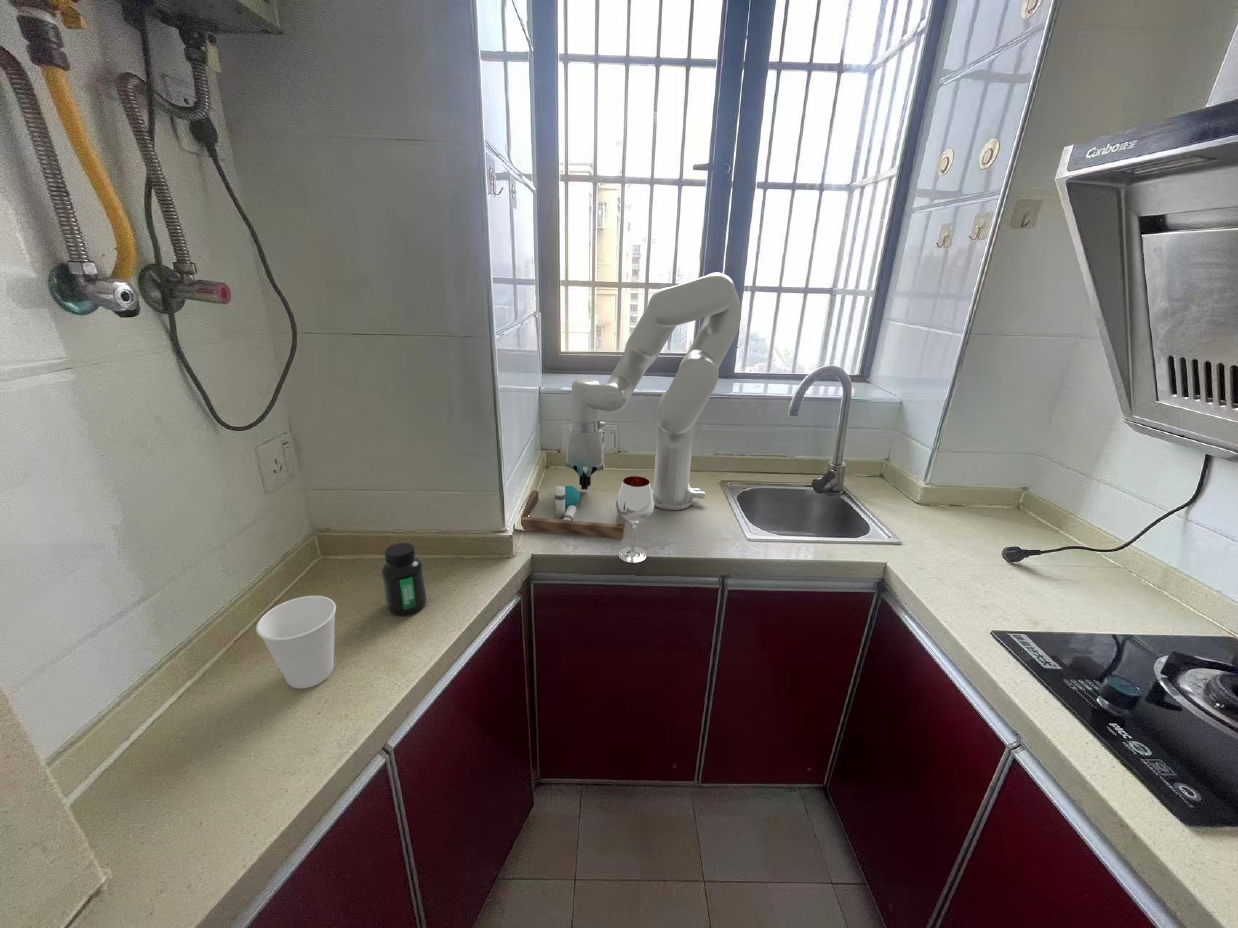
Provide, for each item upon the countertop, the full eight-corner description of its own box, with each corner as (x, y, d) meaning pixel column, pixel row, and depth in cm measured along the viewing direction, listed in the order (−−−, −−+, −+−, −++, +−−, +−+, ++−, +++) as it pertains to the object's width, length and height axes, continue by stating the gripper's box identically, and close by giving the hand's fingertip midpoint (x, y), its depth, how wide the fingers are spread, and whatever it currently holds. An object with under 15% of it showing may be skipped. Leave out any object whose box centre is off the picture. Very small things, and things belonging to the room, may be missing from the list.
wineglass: (634, 542, 117) (638, 471, 110) (658, 557, 111) (663, 483, 105) (606, 553, 112) (609, 479, 105) (630, 569, 106) (634, 492, 100)
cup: (295, 652, 81) (280, 595, 77) (358, 650, 81) (347, 594, 77) (258, 701, 72) (239, 640, 67) (330, 699, 72) (315, 639, 68)
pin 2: (570, 503, 128) (564, 518, 120) (578, 508, 129) (572, 524, 121) (565, 510, 129) (558, 525, 121) (573, 515, 129) (567, 531, 122)
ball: (572, 507, 127) (584, 508, 133) (572, 484, 128) (583, 485, 133) (552, 508, 130) (564, 509, 135) (552, 485, 130) (564, 487, 136)
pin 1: (566, 516, 128) (566, 486, 125) (564, 521, 125) (564, 490, 122) (556, 515, 128) (556, 485, 125) (554, 520, 126) (554, 489, 122)
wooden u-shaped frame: (628, 507, 134) (628, 497, 132) (622, 539, 118) (622, 527, 117) (533, 500, 136) (532, 490, 135) (514, 530, 120) (514, 518, 119)
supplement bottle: (419, 617, 90) (411, 560, 85) (381, 616, 89) (371, 559, 85) (432, 594, 96) (425, 539, 92) (396, 593, 96) (387, 539, 91)
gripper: (614, 423, 137) (612, 484, 144) (561, 419, 138) (561, 480, 145) (611, 431, 130) (609, 495, 137) (555, 427, 132) (556, 491, 138)
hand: (585, 487), depth 141 cm, fingers closed
